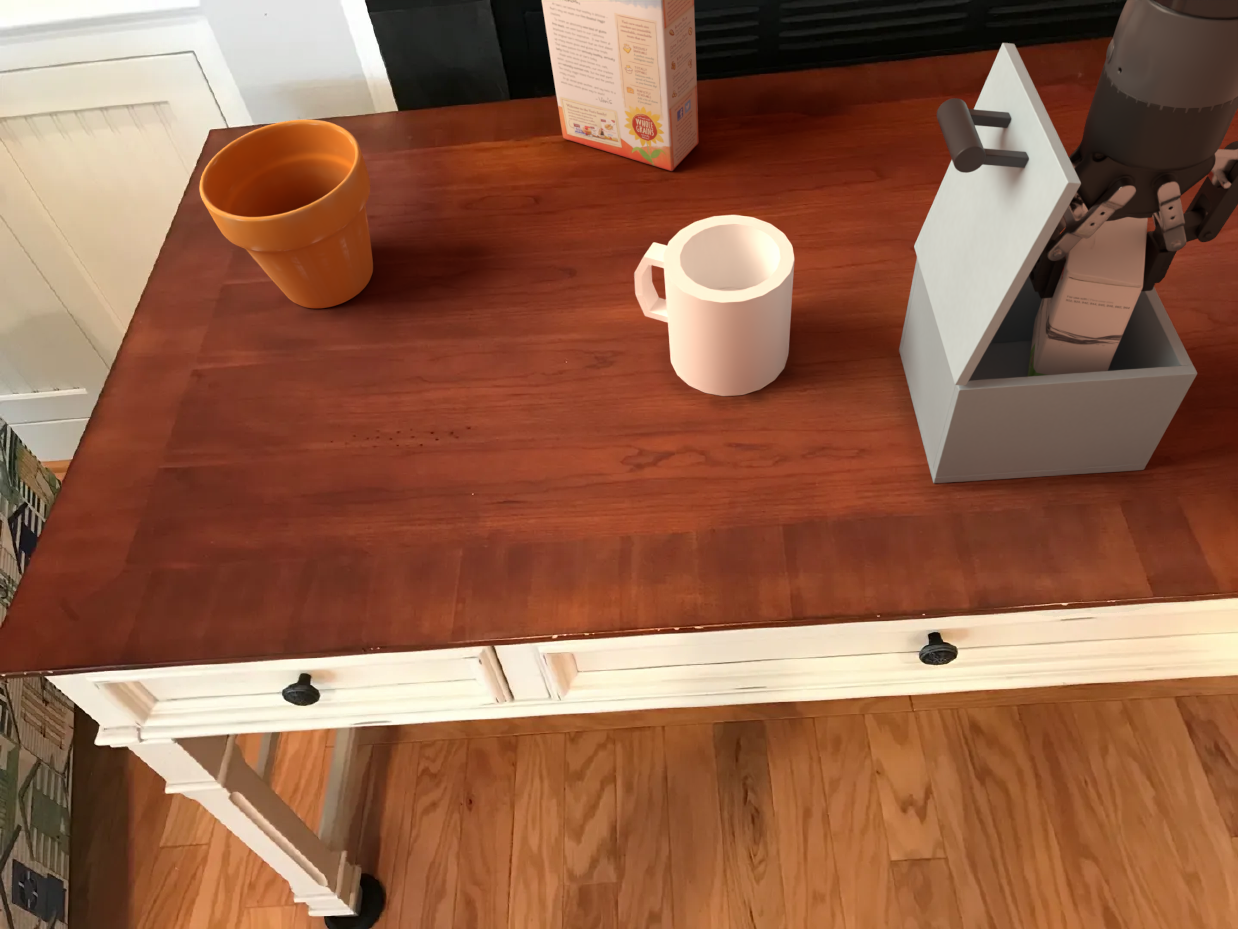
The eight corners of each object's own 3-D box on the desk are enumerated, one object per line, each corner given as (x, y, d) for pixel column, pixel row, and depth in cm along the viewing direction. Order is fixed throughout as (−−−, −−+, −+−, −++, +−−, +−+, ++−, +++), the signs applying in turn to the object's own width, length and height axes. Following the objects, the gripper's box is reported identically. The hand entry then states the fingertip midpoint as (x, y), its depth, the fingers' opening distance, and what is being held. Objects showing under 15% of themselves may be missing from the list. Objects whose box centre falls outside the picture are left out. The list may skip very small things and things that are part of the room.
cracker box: (701, 143, 103) (695, -62, 87) (672, 175, 101) (660, -30, 84) (592, 110, 109) (566, -88, 92) (561, 139, 106) (529, -59, 89)
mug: (615, 365, 85) (602, 272, 77) (665, 289, 90) (658, 194, 82) (761, 410, 81) (764, 316, 72) (805, 328, 86) (813, 231, 77)
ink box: (1093, 408, 72) (1147, 288, 62) (1022, 395, 73) (1064, 276, 64) (1100, 327, 76) (1151, 204, 67) (1033, 316, 78) (1074, 194, 68)
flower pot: (235, 329, 93) (173, 219, 82) (282, 230, 101) (230, 119, 91) (379, 331, 91) (334, 218, 80) (414, 230, 99) (377, 116, 89)
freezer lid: (1014, 43, 61) (934, 35, 61) (1081, 183, 53) (989, 175, 52) (923, 247, 74) (857, 242, 74) (966, 385, 66) (890, 381, 65)
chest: (1087, 336, 82) (1128, 234, 74) (1143, 470, 74) (1197, 373, 65) (898, 349, 83) (917, 251, 75) (933, 483, 75) (959, 389, 66)
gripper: (1066, 114, 53) (999, 332, 67) (1342, 90, 52) (1218, 316, 66) (1029, 40, 58) (974, 259, 71) (1282, 17, 57) (1178, 243, 70)
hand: (1091, 286), depth 68 cm, fingers closed on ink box, 6 cm apart
